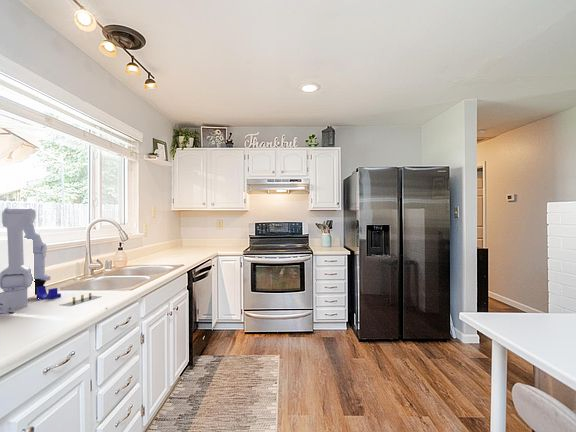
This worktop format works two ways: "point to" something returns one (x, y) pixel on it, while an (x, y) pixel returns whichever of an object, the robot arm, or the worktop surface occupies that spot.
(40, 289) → the cable clip
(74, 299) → the header pins
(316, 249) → the worktop surface
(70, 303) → the header plate
